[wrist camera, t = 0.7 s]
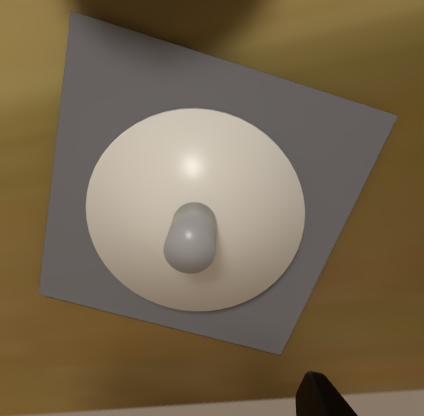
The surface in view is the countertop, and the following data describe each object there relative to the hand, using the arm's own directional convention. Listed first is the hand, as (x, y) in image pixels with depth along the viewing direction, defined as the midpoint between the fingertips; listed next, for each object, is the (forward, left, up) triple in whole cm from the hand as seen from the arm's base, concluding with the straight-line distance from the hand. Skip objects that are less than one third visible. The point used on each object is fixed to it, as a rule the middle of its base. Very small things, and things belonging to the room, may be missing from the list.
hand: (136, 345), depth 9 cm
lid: (-1, +2, -13) cm, 13 cm away
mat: (-1, +2, -13) cm, 13 cm away
